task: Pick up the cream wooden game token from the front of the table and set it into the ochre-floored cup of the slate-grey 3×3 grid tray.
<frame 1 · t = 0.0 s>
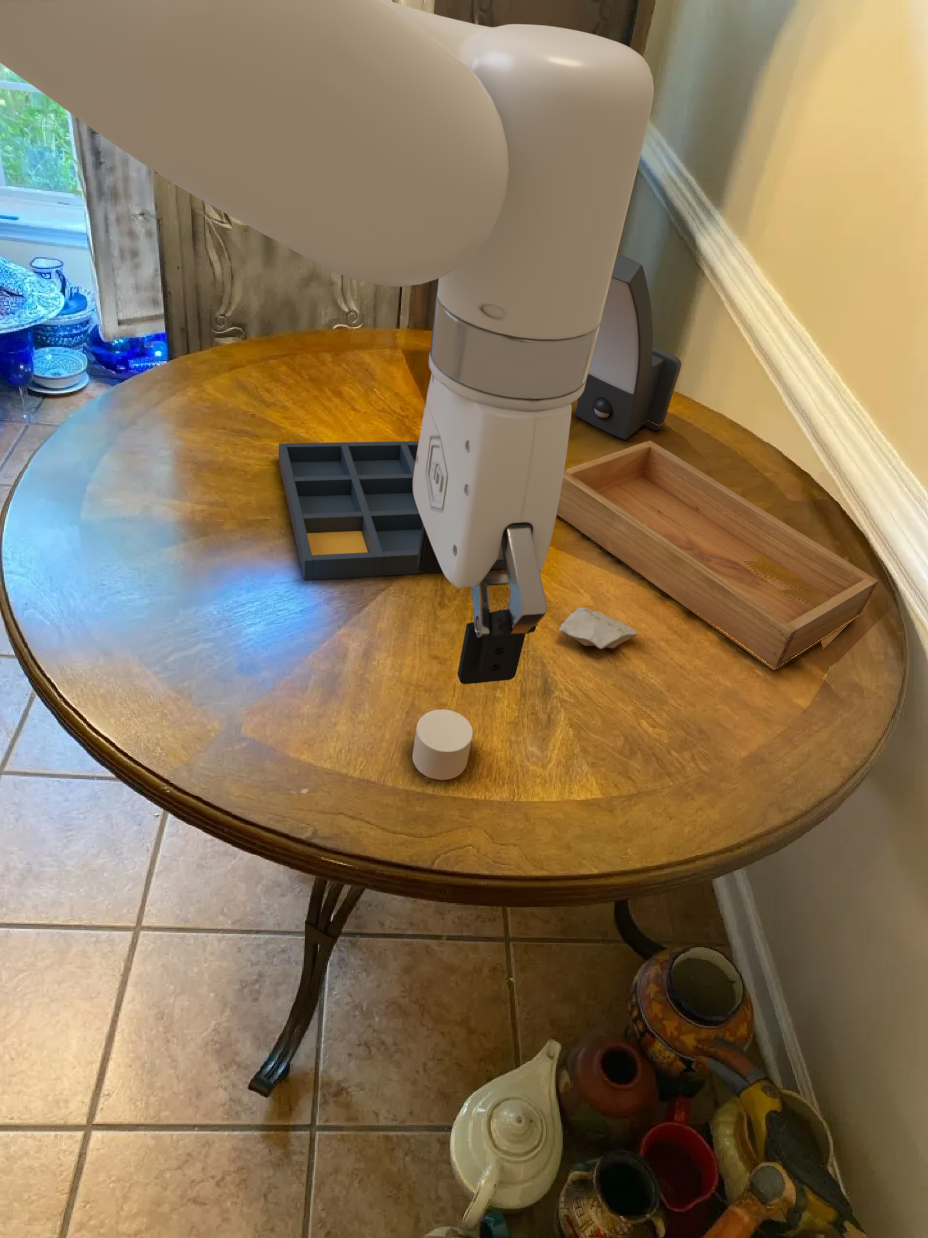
hand: (462, 620, 54), 21 cm above the table, tool pointing down, fingers open, 9 cm apart
stone: (592, 641, 87), on the table
grid: (390, 512, 98), on the table
light fixture: (593, 433, 118), on the table
tray: (695, 567, 98), on the table
token: (439, 758, 73), on the table
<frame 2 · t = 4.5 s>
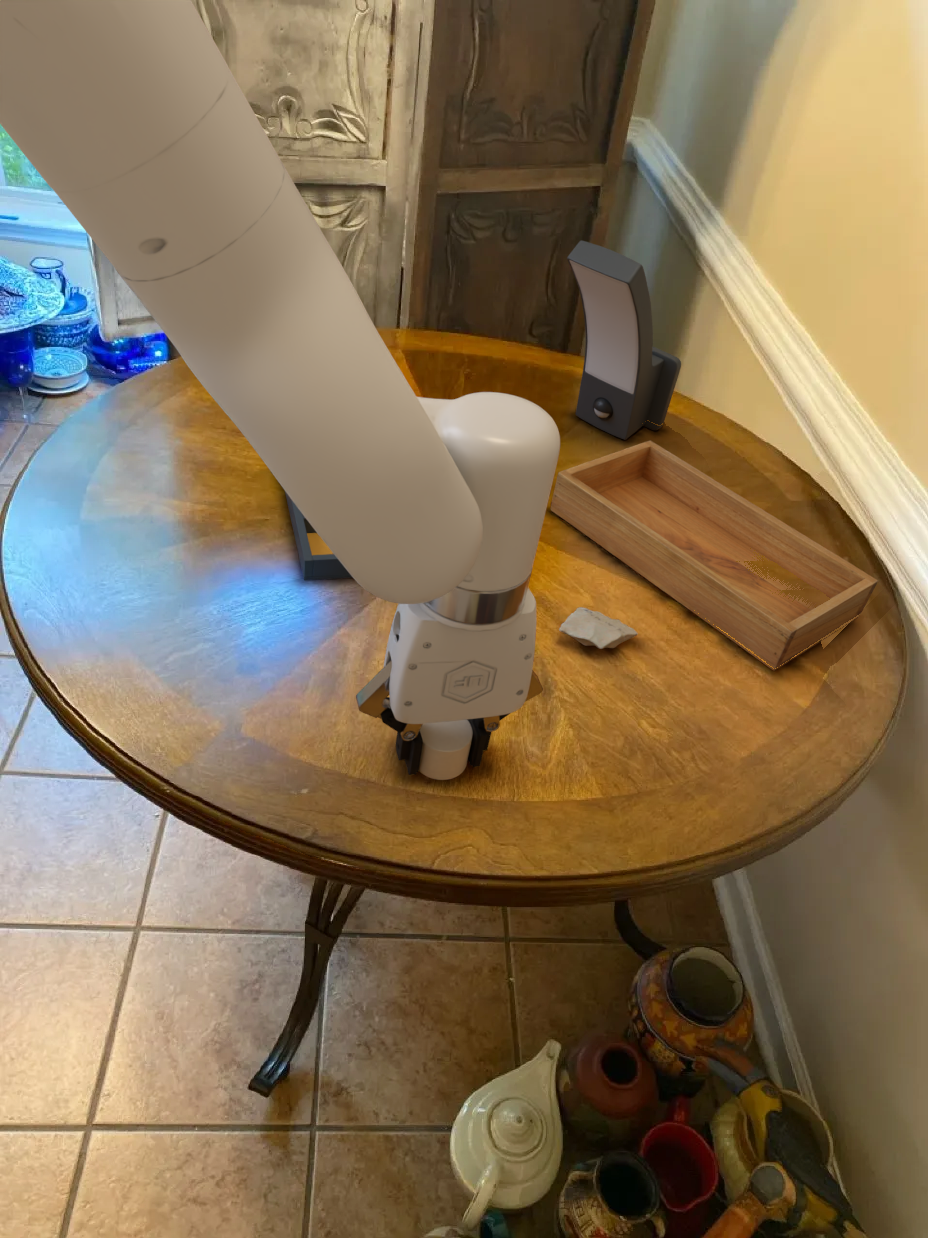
hand: (440, 755, 73), 0 cm above the table, tool pointing down, fingers closed on token, 4 cm apart
token: (439, 758, 73), on the table, touching gripper
everything else where it was.
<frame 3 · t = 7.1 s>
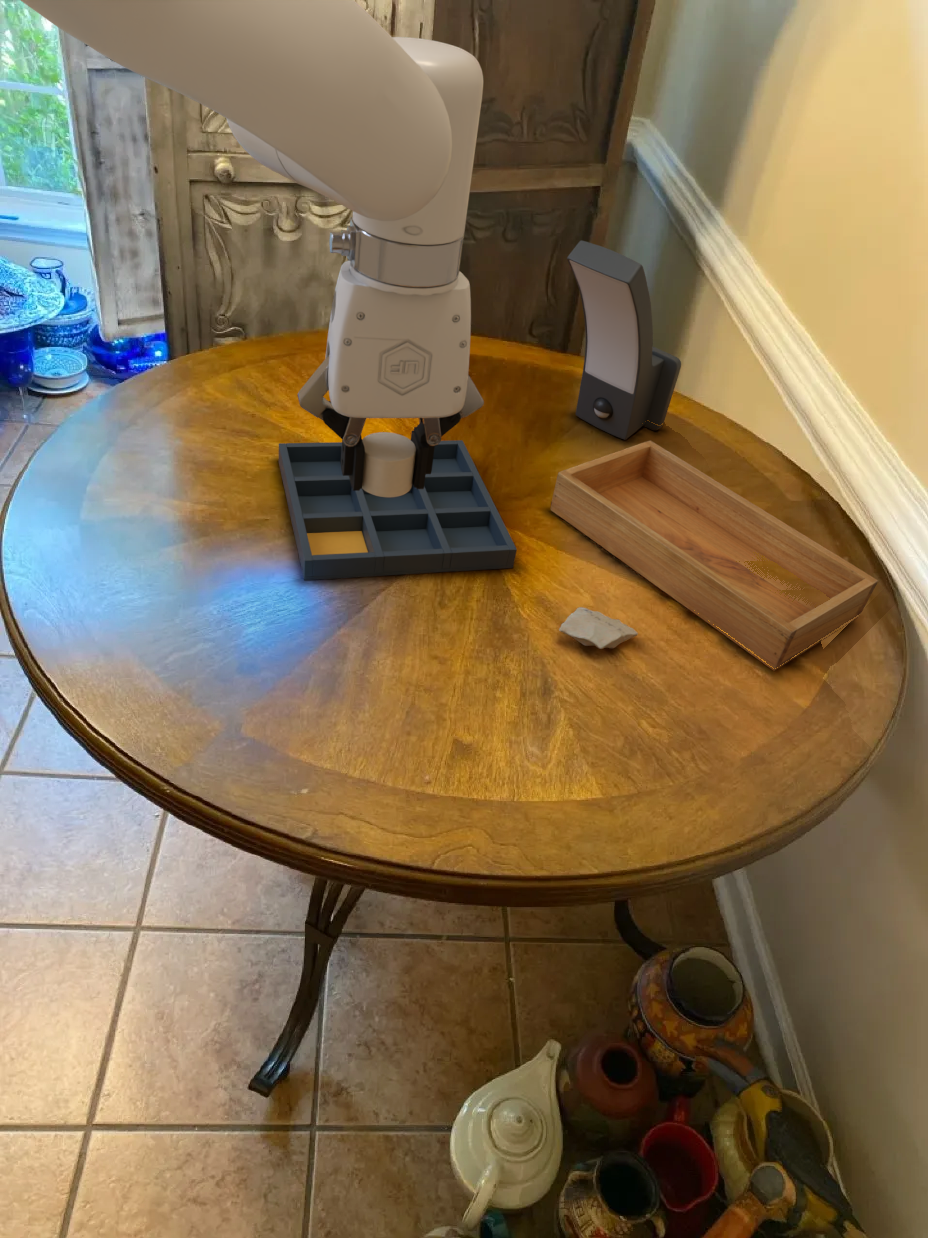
hand: (385, 478, 74), 16 cm above the table, tool pointing down, fingers closed on token, 4 cm apart
token: (385, 482, 74), point 15 cm above the table, touching gripper
everything else where it was.
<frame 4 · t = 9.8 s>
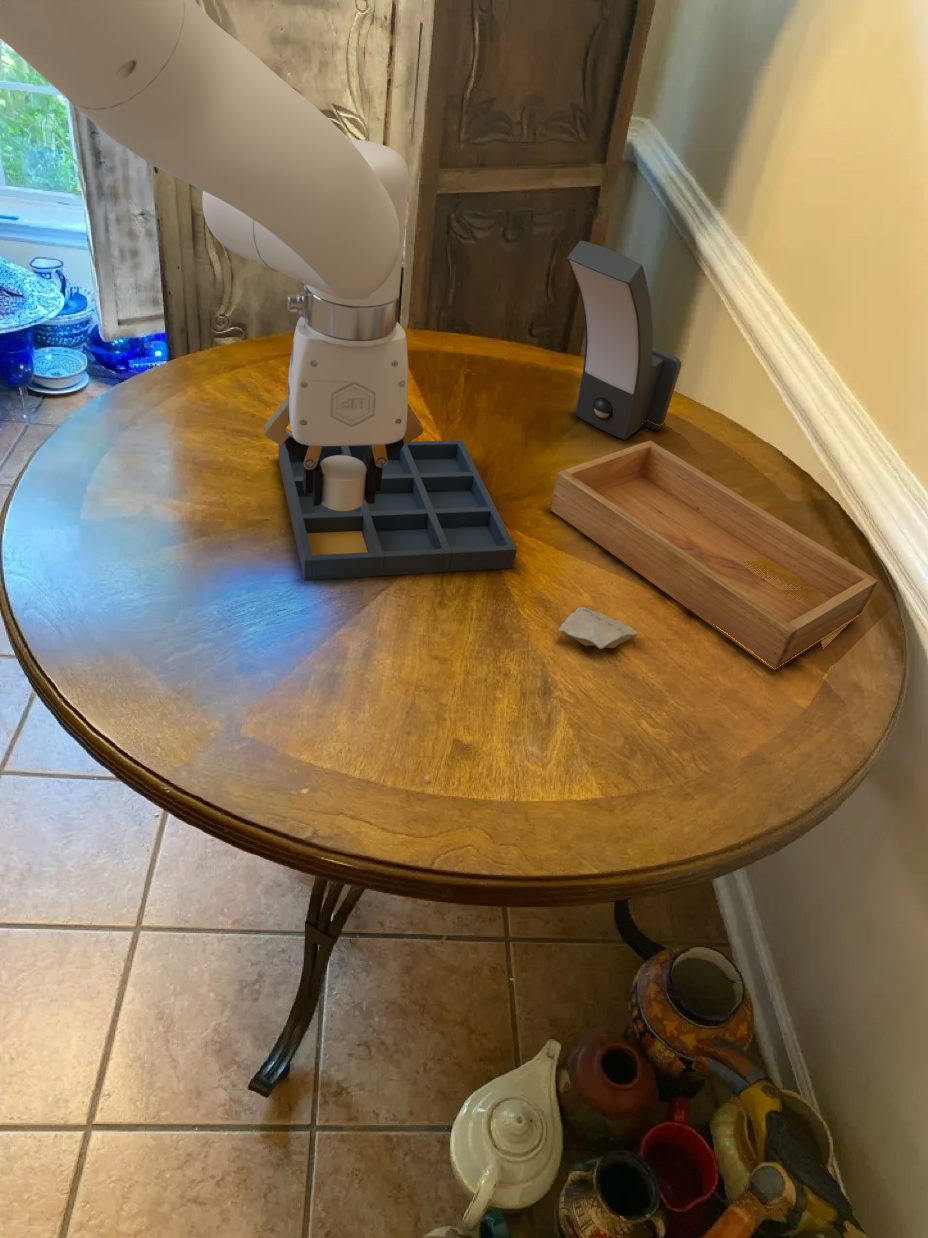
hand: (341, 495, 87), 7 cm above the table, tool pointing down, fingers closed on token, 4 cm apart
token: (341, 498, 87), point 7 cm above the table, touching gripper
everything else where it was.
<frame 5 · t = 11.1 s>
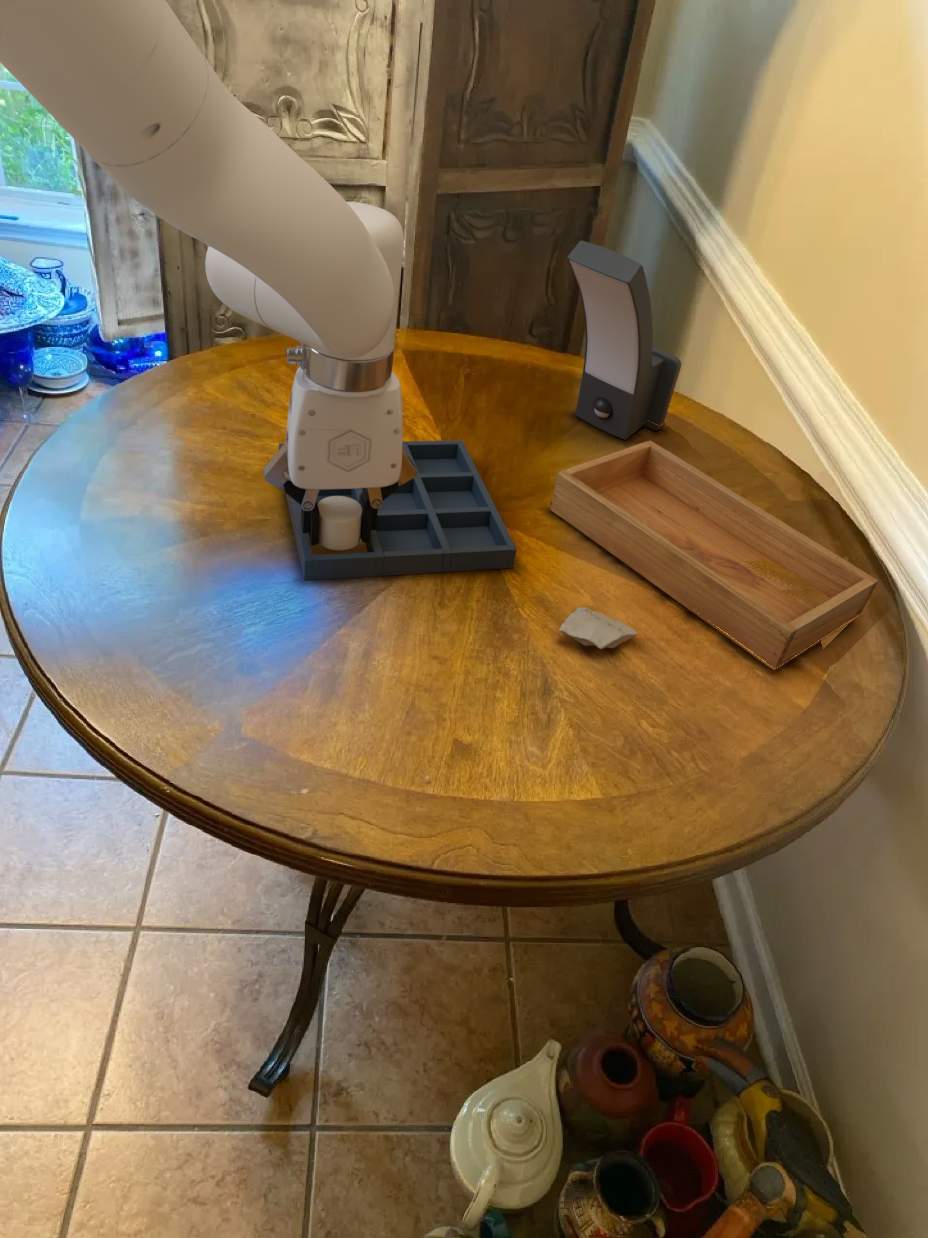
hand: (338, 534, 89), 2 cm above the table, tool pointing down, fingers closed on token, 4 cm apart
token: (338, 537, 90), point 2 cm above the table, touching gripper
everything else where it was.
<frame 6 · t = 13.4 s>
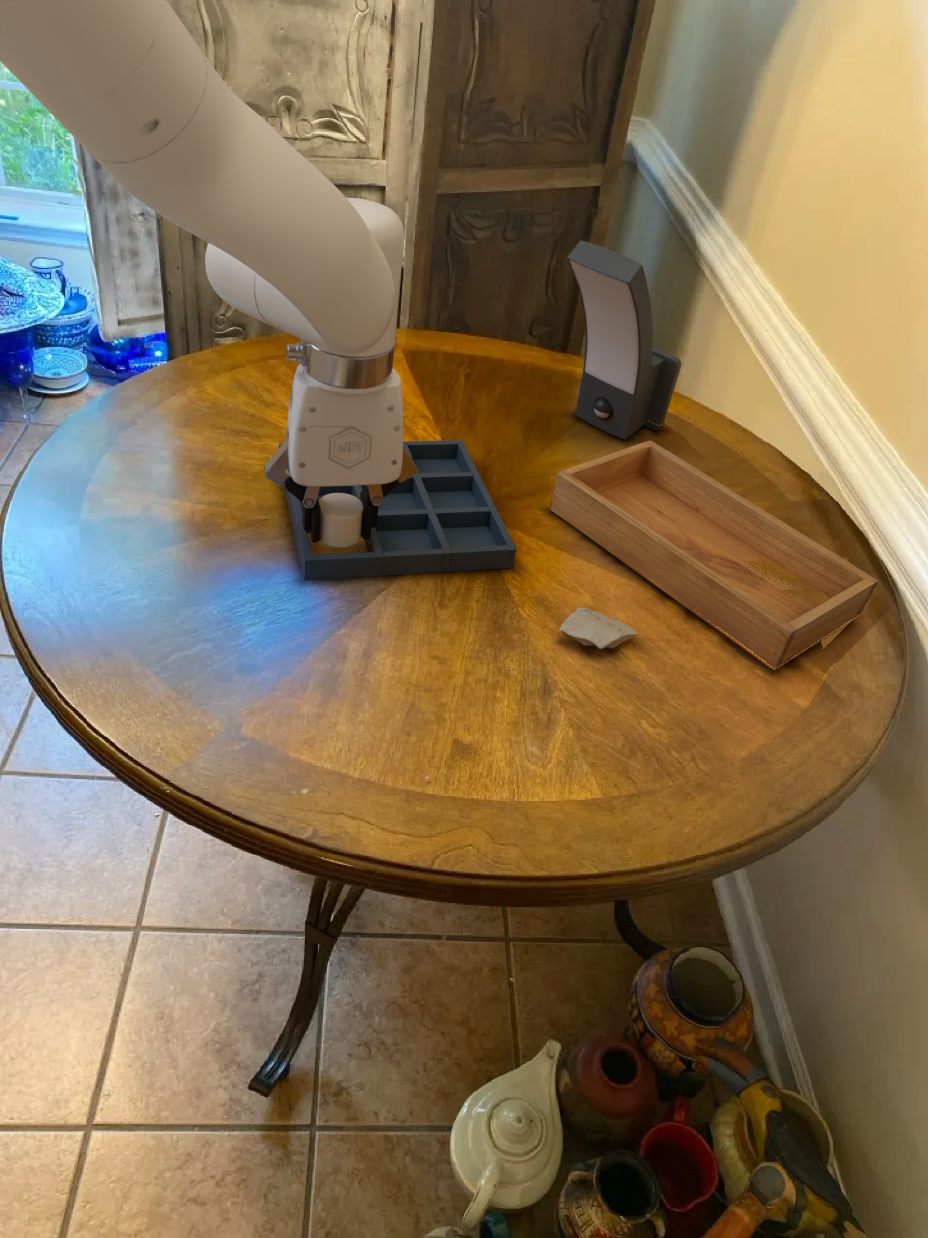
hand: (339, 531, 89), 3 cm above the table, tool pointing down, fingers closed on token, 4 cm apart
token: (338, 534, 90), point 2 cm above the table, touching gripper
everything else where it was.
when the fingers open (3 cm above the table, at t = 15.6 s): token drops 2 cm, resting on grid.
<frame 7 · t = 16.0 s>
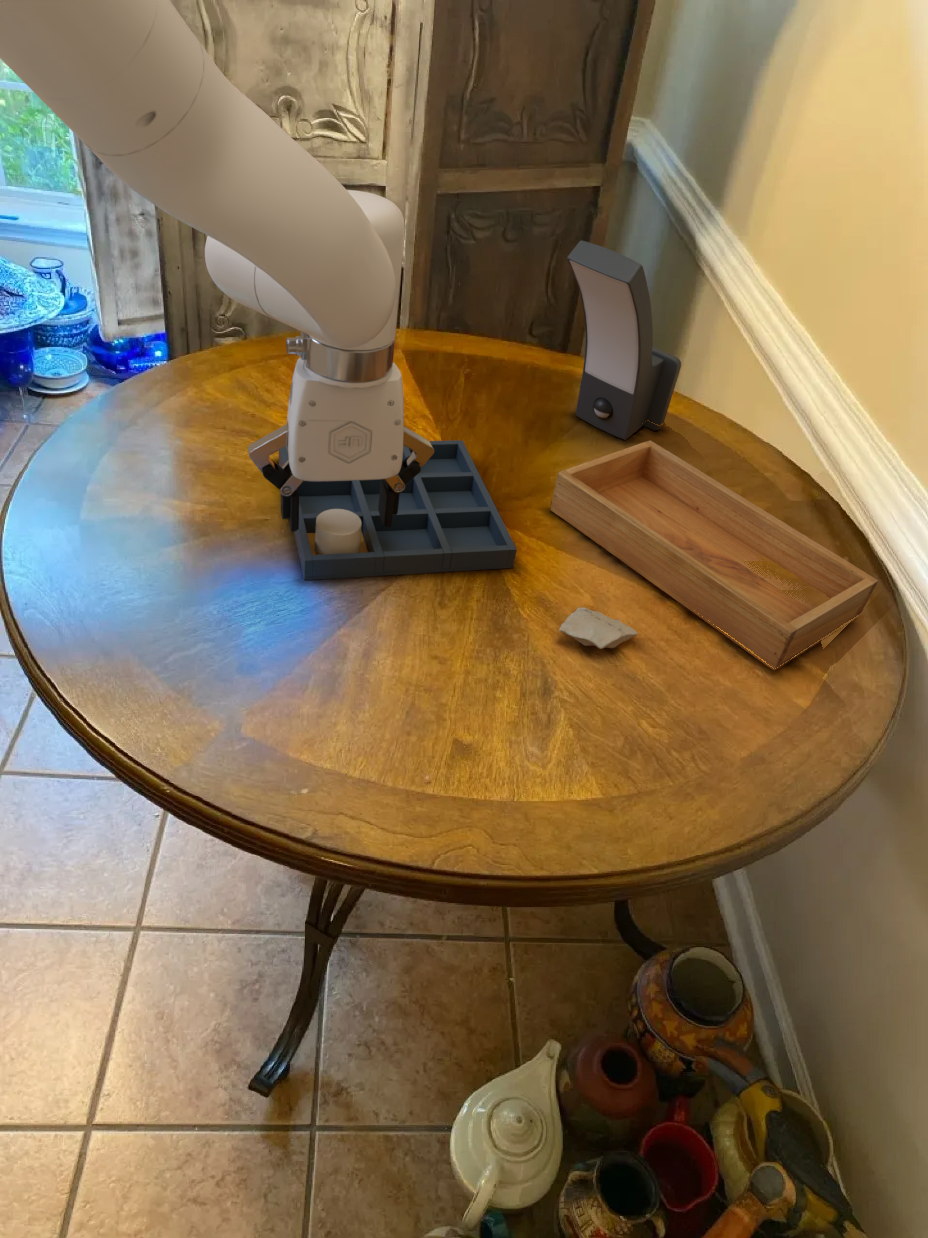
hand: (339, 520, 88), 4 cm above the table, tool pointing down, fingers open, 8 cm apart
token: (337, 549, 91), point 1 cm above the table, touching grid
everything else where it was.
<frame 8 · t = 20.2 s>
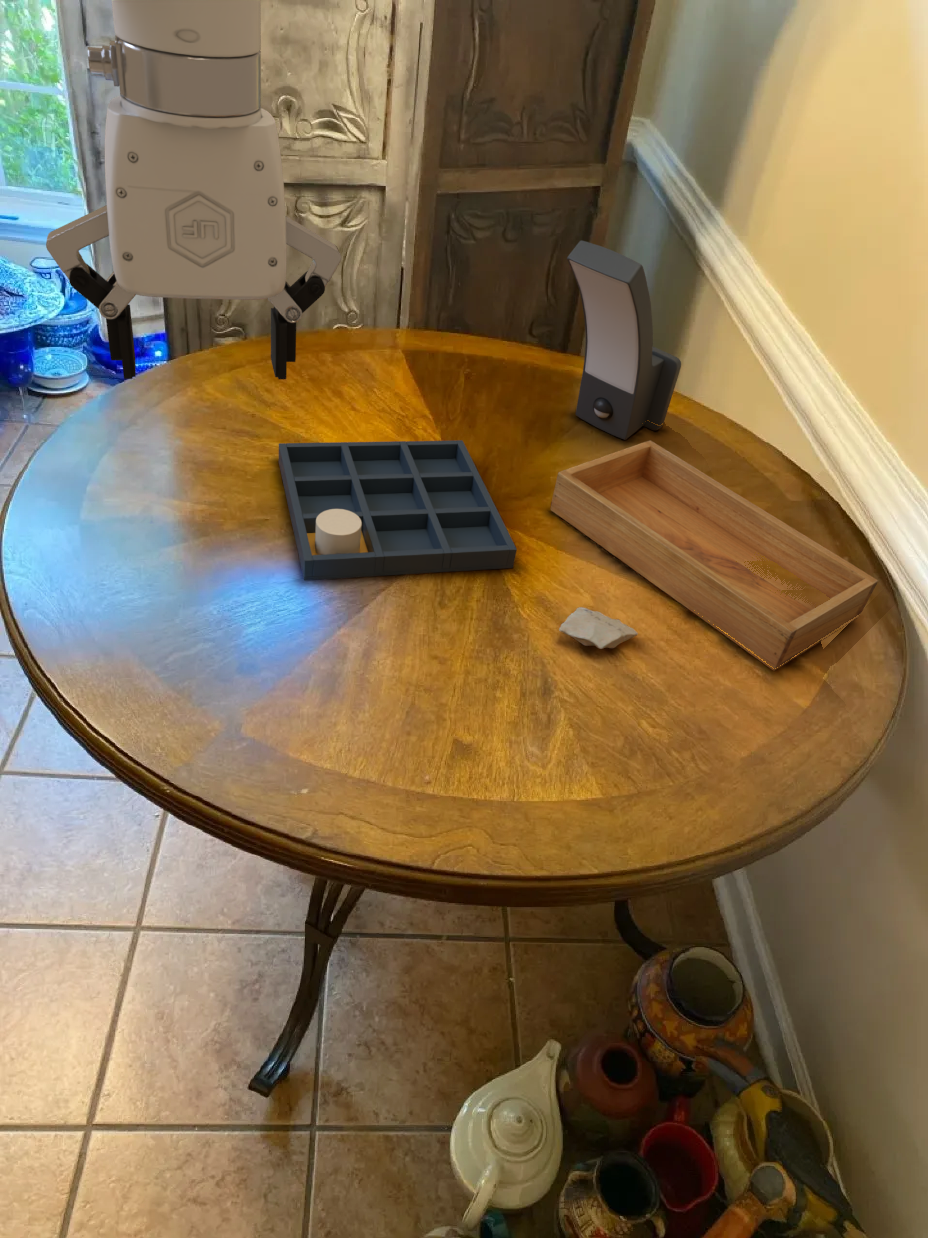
hand: (205, 369, 61), 26 cm above the table, tool pointing down, fingers open, 9 cm apart
nothing on the table moved.
at the end: token 0.0 cm from the target spot in the grid, point 0.6 cm above the grid's base; the gripper is holding nothing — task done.
